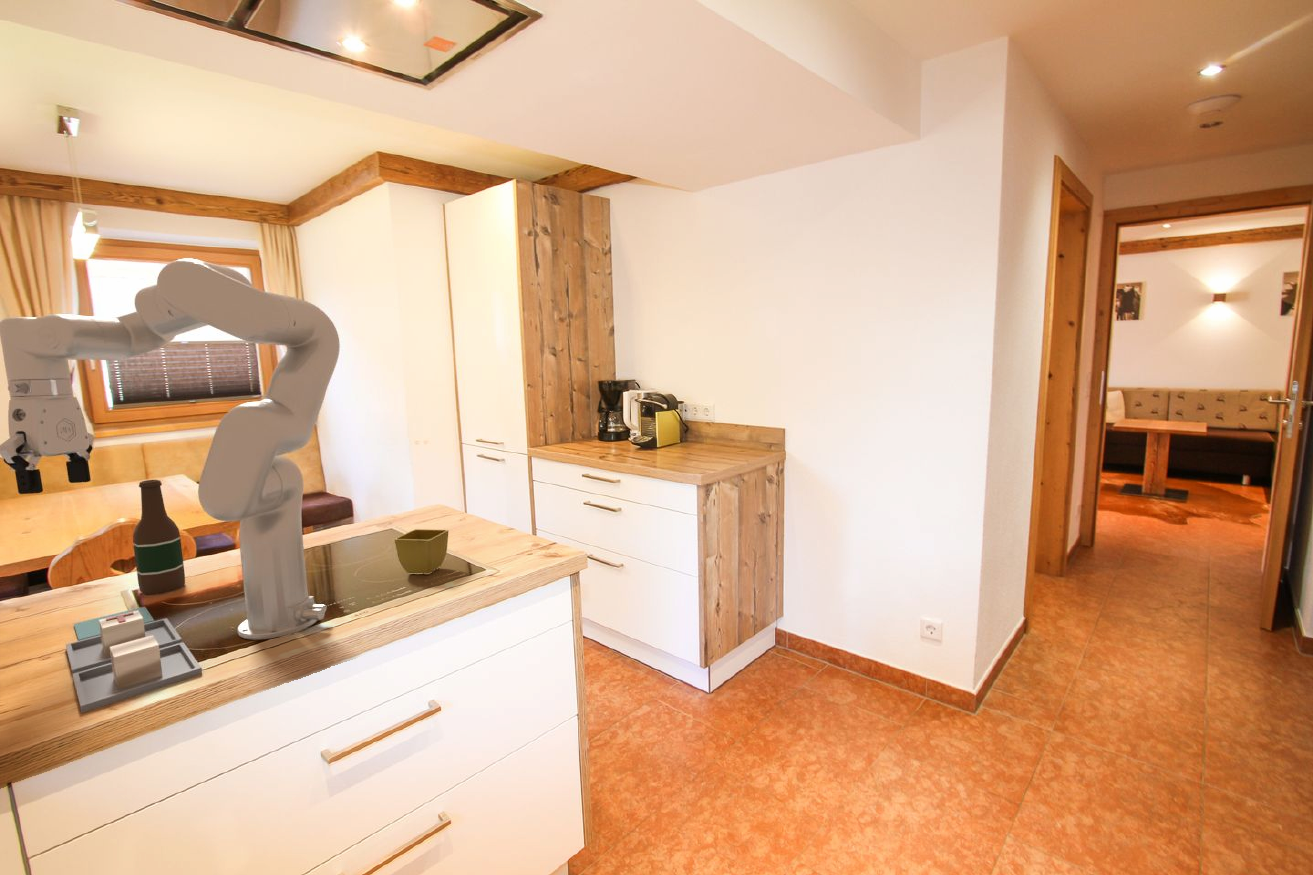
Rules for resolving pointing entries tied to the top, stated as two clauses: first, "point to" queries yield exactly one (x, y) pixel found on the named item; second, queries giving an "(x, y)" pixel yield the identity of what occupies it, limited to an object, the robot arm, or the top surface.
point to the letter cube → (121, 630)
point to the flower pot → (422, 550)
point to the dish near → (102, 689)
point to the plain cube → (135, 661)
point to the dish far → (93, 655)
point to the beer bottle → (157, 544)
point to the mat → (93, 627)
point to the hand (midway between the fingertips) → (56, 487)
